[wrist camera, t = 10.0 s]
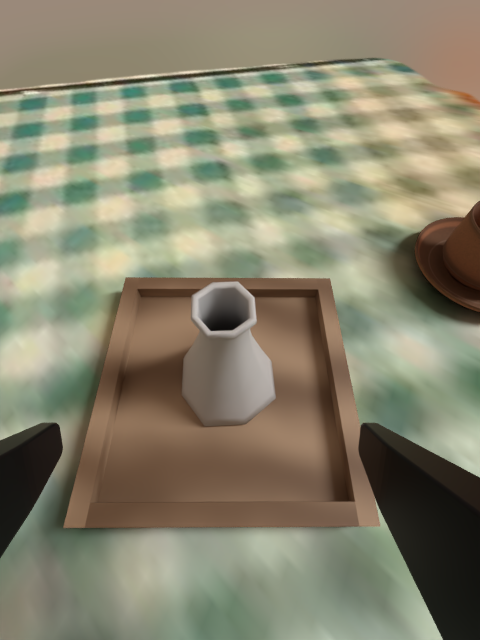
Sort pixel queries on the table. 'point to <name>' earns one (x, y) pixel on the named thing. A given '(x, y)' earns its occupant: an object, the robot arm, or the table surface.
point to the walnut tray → (228, 440)
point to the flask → (226, 358)
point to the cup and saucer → (453, 257)
